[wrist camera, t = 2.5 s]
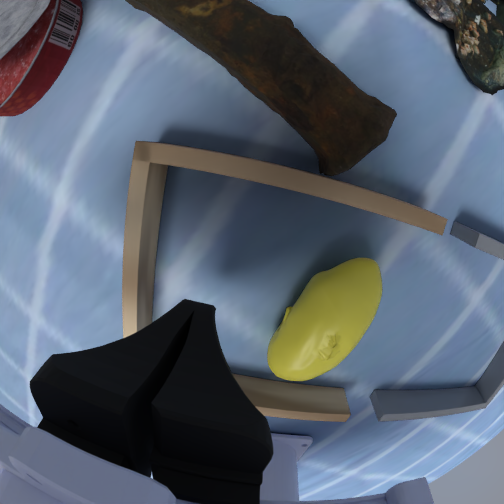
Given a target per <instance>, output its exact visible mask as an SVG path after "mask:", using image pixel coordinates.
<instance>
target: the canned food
mask: <svg viewBox="0 0 504 504" xmlns="http://www.w3.org/2000/svg"><path fill="white" fill-rule="evenodd" d="M82 18H83V8H82V2H81V0H0V116H16V115H19V114H22V113H24V112H25V111H27V110H28V109H30V108H31V107H32V106H34V105H35V104H36V103H37V102H38V101H39V100H40V99H41V98H42V97H43V96H44V95H45V93H46V92H47V91H48V90H49V89H50V88H51V86H52V85H53V83H54V82H55V81H56V79H57V78H58V76H59V75H60V73H61V71H62V70H63V68H64V66H65V65H66V63H67V61H68V59H69V57H70V55H71V53H72V51H73V49H74V47H75V44H76V41H77V39H78V36H79V33H80V29H81V25H82Z"/></svg>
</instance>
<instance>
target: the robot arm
mask: <svg viewBox="0 0 504 504" xmlns="http://www.w3.org/2000/svg"><path fill="white" fill-rule="evenodd" d="M215 310H216V308H215V307H214V306H213V305H209V304H204V303H200V302H196V301H192V300H187V299H184V300H182V301H181V302H180V303H178V304H177V305H176V306H175V307H174V308H172V309H171V310H170V311H168V312H167V313H166V314H164V315H163V316H161V317H160V318H159V319H157V320H156V321H154V322H153V323H151V324H149V325H148V326H146V327H144V328H143V329H141V330H139V331H137V332H136V333H134V334H132V335H130V336H127V337H125V338H123V339H120V340H117V341H115V342H112V343H109V344H106V345H103V346H100V347H96V348H92V349H88V350H83V351H78V352H71V353H63V354H53V355H52V356H51V357H50V358H49V359H48V360H47V361H46V362H45V363H44V364H43V366H42V367H41V368H40V369H39V371H38V372H37V373H36V374H35V376H34V377H33V378H32V380H31V381H30V390H31V393H32V396H33V398H34V400H35V402H36V404H37V406H38V408H39V410H40V412H41V414H42V416H43V419H42V421H41V422H40V424H39V425H38V427H33V426H31V425H29V424H28V423H26V422H25V421H23V420H22V419H20V418H19V417H17V416H16V415H14V414H13V413H12V412H10V411H9V410H7V409H6V408H5V407H3V406H2V405H1V404H0V504H434V502H433V499H432V495H431V492H430V489H429V486H428V483H427V480H426V478H425V477H423V478H419V479H415V480H410V481H406V482H402V483H399V484H397V485H395V486H393V487H392V488H390V489H389V490H388V491H387V492H386V493H383V494H377V495H371V496H364V497H356V498H347V499H337V500H322V501H299V488H298V472H297V462H298V460H299V459H300V458H301V456H302V455H303V454H304V453H305V451H306V450H307V449H308V447H309V446H310V445H311V443H312V442H313V440H312V437H310V436H297V435H285V434H275V433H271V432H270V428H269V425H268V422H267V419H266V417H265V416H264V415H263V414H262V413H261V412H260V411H259V410H258V409H257V408H256V407H255V406H254V405H253V404H252V402H251V401H250V400H249V398H248V397H247V396H246V395H245V393H244V392H243V390H242V389H241V387H240V386H239V384H238V382H237V381H236V379H235V378H234V376H233V374H232V372H231V370H230V368H229V366H228V364H227V362H226V360H225V357H224V355H223V352H222V349H221V346H220V343H219V339H218V335H217V330H216V324H215ZM151 472H152V475H153V479H152V478H150V477H151Z"/></svg>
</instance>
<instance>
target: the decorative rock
mask: <svg viewBox="0 0 504 504" xmlns="http://www.w3.org/2000/svg"><path fill="white" fill-rule="evenodd" d="M414 1H415V2H416V4H417V5H418V6H419V7H421V8H422V9H423V10H424V11H425V12H426V13H428V14H429V15H430V16H431V17H432V18H434V19H435V20H437V21H439V22H441V23H443V24H445V25H446V26H447V27H448V28H452V29H453V30H454V36H455V44H456V47H457V52H456V58H458V59H460V61H461V63H462V66H463V67H464V69H465V71H466V72H467V74H468V76H469V77H470V78H471V80H472V82H473V83H474V84H475V85H476V86H477V87H479V88H480V89H481V90H482V91H483V92H485V93H489V94H491V95H493V94H495V93H497V91H498V90H502V89H504V0H491V1H492V2H493V3H495V4H496V5H497V11H496V16H495V15H494V14H493V13H492V12H491V11H490V10H489V9H488V8H487V7H486V6H485V5H484V4H485V2H486V1H485V0H414ZM483 3H484V4H483Z"/></svg>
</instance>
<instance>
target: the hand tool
mask: <svg viewBox="0 0 504 504" xmlns="http://www.w3.org/2000/svg"><path fill="white" fill-rule="evenodd" d="M125 1H127V2H128V3H129V4H131V5H132V6H133V7H134V8H136V9H139V10H142V11H145V12H147V13H149V14H150V15H152V16H153V17H155V18H156V19H158V20H159V21H161V22H162V23H164V24H165V25H166V26H168V27H169V28H171V29H172V30H174V31H175V32H177V33H178V34H179V35H181V36H182V37H184V38H185V39H186V40H188V41H189V42H190V43H191V44H193V45H194V46H196V47H197V48H198V49H200V50H202V51H203V52H205V53H207V54H208V55H210V56H211V57H212V58H213V59H215V60H216V61H217V62H218V63H219V64H221V65H222V66H224V67H225V68H226V69H227V70H228V72H229V73H230V74H231V75H232V76H234V77H236V78H237V79H238V80H239V82H240V83H241V84H242V85H243V86H244V87H245V88H247V89H248V90H249V91H250V92H251V93H252V94H254V95H255V96H256V97H257V98H259V99H260V100H262V101H263V102H264V103H265V104H266V105H267V106H268V107H269V108H271V109H272V110H273V111H274V112H276V113H278V114H280V115H281V116H282V117H283V118H284V119H285V120H286V121H287V122H288V123H289V124H290V125H291V126H292V127H293V128H294V129H295V130H296V131H297V132H298V133H299V134H300V135H301V136H302V137H303V138H304V140H305V141H306V142H307V143H308V144H309V145H310V146H311V147H312V148H313V149H314V151H315V153H316V155H317V157H318V159H319V172H320V174H321V173H323V174H324V175H328V176H334V175H338V174H340V173H343V172H345V171H347V170H349V169H351V168H352V167H353V166H354V165H356V164H357V163H358V162H359V161H360V160H361V159H363V158H364V157H365V156H366V155H367V154H369V153H370V152H371V151H372V150H373V149H375V148H376V147H377V146H379V145H380V144H381V143H383V142H384V141H385V140H386V138H387V136H388V133H389V129H390V128H391V126H392V124H393V121H394V119H395V117H396V116H397V113H396V111H395V110H394V109H392V108H390V107H389V106H387V105H385V104H383V103H382V102H381V101H379V100H378V99H377V98H375V97H372V96H369V95H367V94H366V93H365V92H363V91H362V90H361V89H359V88H358V87H357V86H356V85H355V84H354V83H353V82H352V81H351V80H350V79H349V78H348V77H347V76H346V75H345V74H344V73H342V72H341V71H340V70H339V69H338V68H337V67H336V66H335V65H334V64H333V63H332V62H330V61H329V60H328V59H327V58H325V57H324V56H323V55H322V54H321V53H320V52H318V51H317V50H316V49H315V48H314V47H313V46H312V45H311V44H310V43H309V42H308V40H307V39H306V38H305V37H303V35H302V34H301V33H300V31H299V30H298V29H297V28H294V25H293V22H292V20H291V19H290V18H288V17H286V16H277V15H272V14H269V13H267V12H266V11H264V10H263V9H261V8H260V7H258V6H256V5H255V4H253V3H251V2H250V1H248V0H125Z"/></svg>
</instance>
